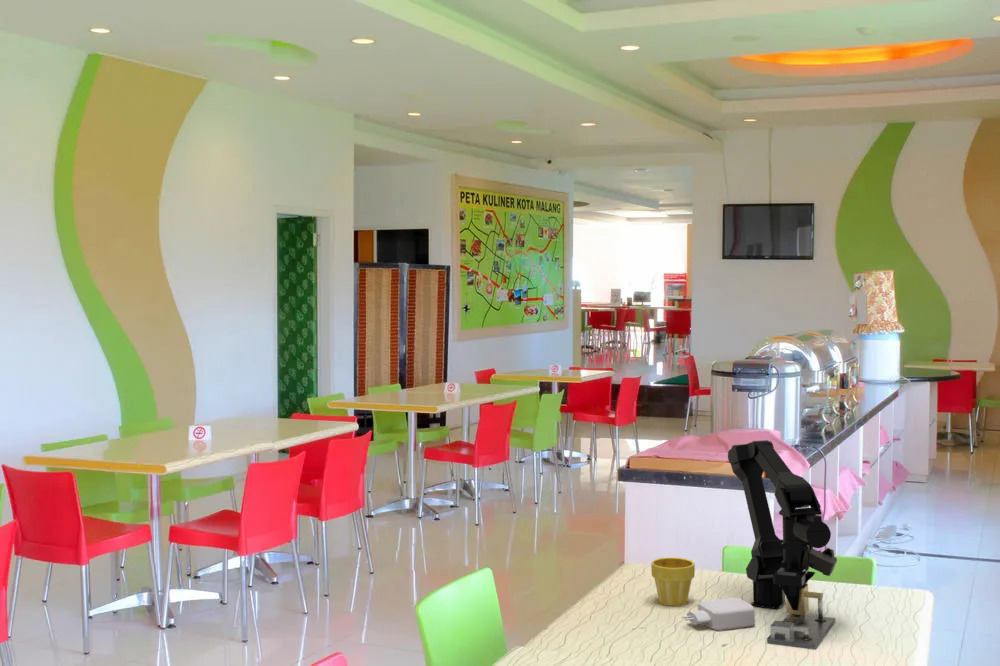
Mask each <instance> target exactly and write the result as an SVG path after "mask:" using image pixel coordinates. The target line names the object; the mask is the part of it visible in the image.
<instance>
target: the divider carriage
mask: <svg viewBox="0 0 1000 666" xmlns="http://www.w3.org/2000/svg"><path fill="white" fill-rule="evenodd" d="M809 598H810V599H811V598H812V599H817V616H818V619H819V620H823V617H824V612H823V611H824V608H823V606H824V605H823V604H824V603H823V602H824V601H823V598H824V593H823V592H816V591H809V583H807V584H805V585H804V586H803V587H802V588H801V593H800V600H799V606H798V610H797V611H796V610H792V608H791V605H790V603H789V601H788V599H787V597H786V596H785V603H786V605H785V606H786V607H785V608H786V609H785V610H786V611H785V612H786V614H787V615H788V614H796V615H807V614H808V612H809V607H810V605H809V603H810V602H809Z"/></svg>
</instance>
